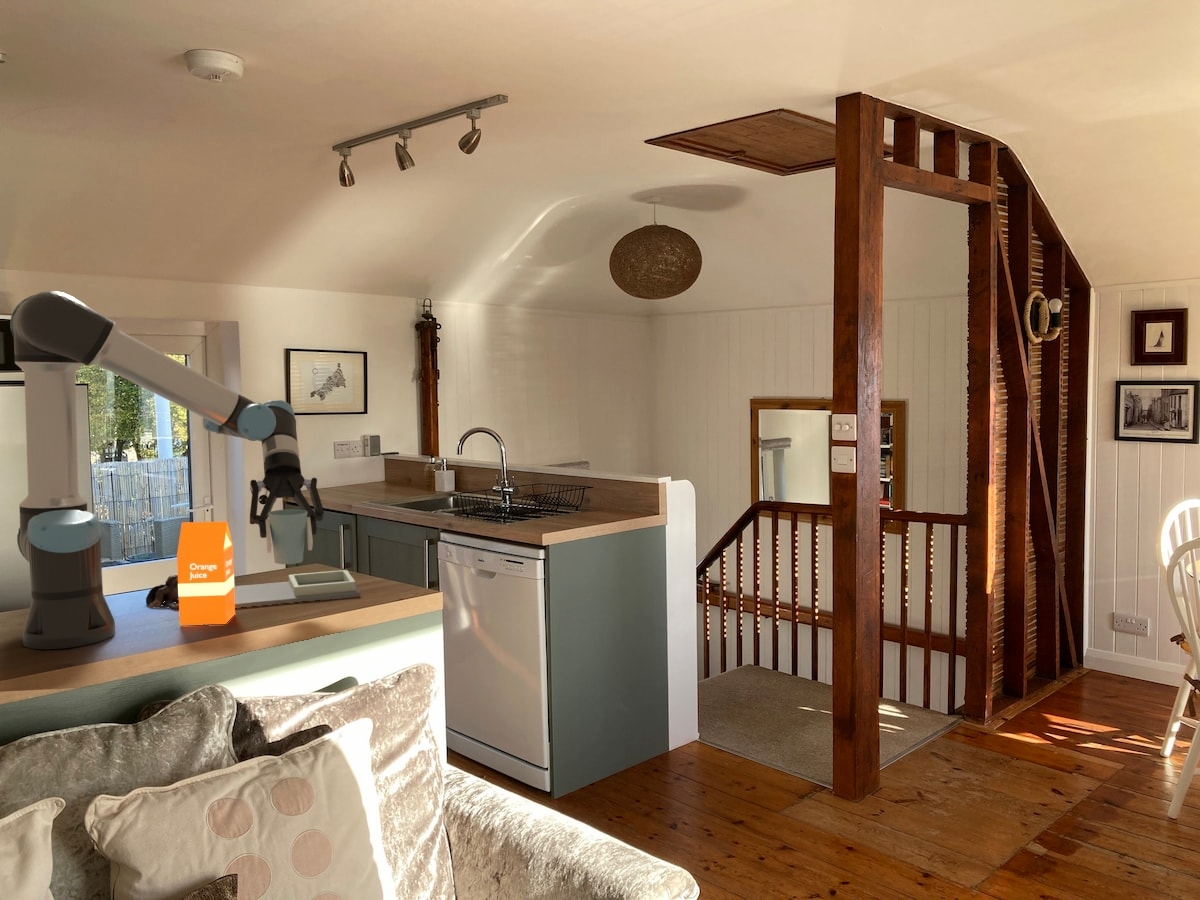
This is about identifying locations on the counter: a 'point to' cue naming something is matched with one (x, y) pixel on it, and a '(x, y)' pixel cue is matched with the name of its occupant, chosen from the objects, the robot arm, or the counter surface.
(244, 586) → the board
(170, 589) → the stuffed animal
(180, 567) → the orange juice
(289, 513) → the cup
